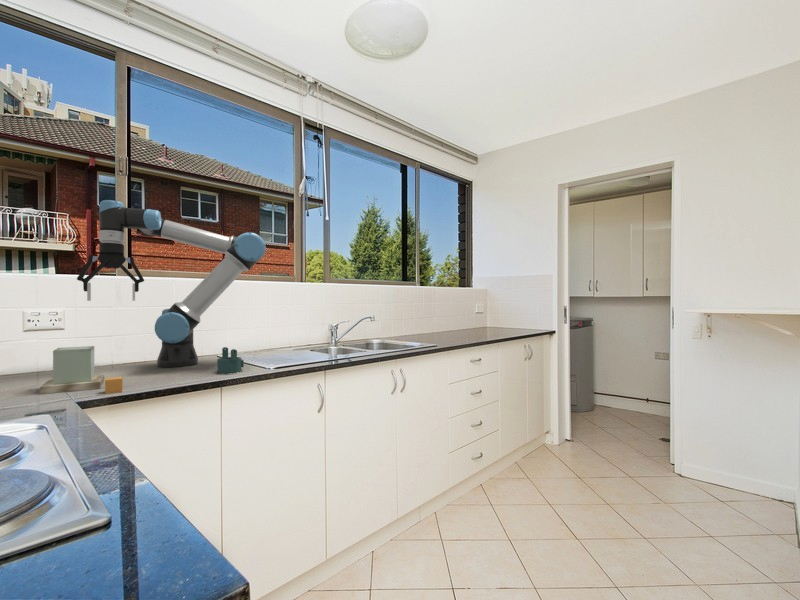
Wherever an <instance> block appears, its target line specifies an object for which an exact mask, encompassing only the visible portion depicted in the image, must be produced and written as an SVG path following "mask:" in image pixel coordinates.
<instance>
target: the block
mask: <svg viewBox="0 0 800 600" xmlns="http://www.w3.org/2000/svg"><path fill="white" fill-rule="evenodd" d="M123 378H124V377H123V376H112V377H111V376H110V377H106V378H105V379H104V393H105V394H116V393H117V394H118V393H122V392H123V390H124V380H123Z"/></svg>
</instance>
